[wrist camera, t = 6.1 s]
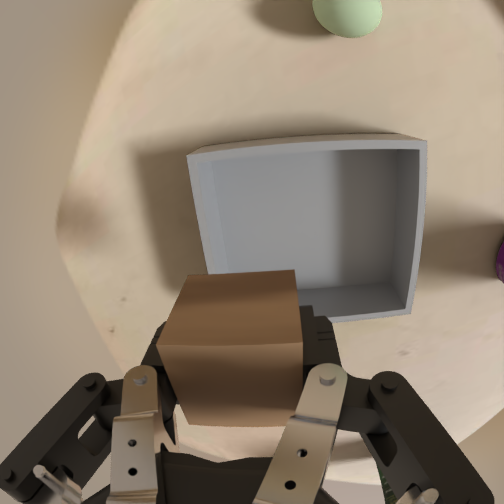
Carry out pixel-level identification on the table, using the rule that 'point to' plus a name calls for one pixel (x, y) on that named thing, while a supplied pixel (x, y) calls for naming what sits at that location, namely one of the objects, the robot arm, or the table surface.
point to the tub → (318, 216)
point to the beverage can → (500, 263)
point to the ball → (348, 16)
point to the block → (235, 349)
